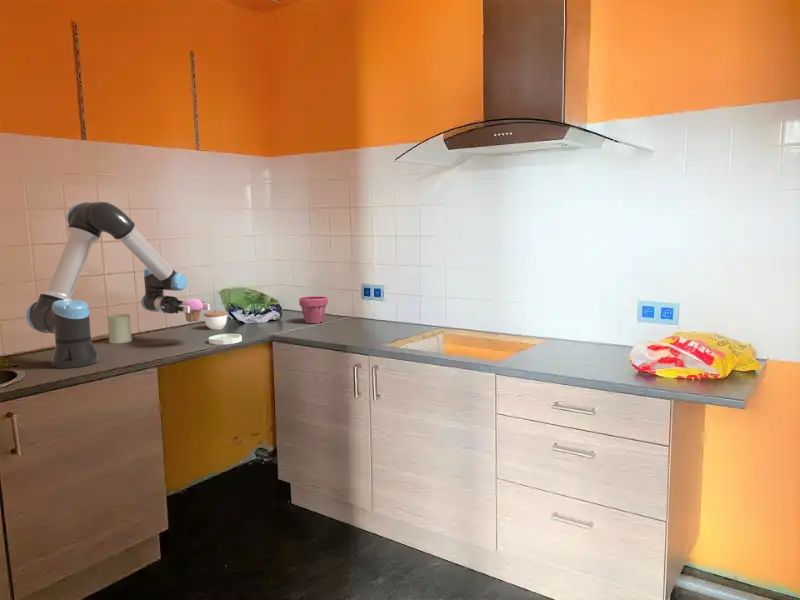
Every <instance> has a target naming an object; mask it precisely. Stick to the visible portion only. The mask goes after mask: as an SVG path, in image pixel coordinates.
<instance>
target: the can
mask: <svg viewBox="0 0 800 600" xmlns="http://www.w3.org/2000/svg"><path fill="white" fill-rule="evenodd" d="M106 318H107V326H108V327H107V328H108V343H109V344H113V345H114V344H126V343H129V342H133V338H132V327H131V326H132V325H131V315H130V313H120V314H119V313H118V314H117V313H116V314H110V315H107V317H106Z"/></svg>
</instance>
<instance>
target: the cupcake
mask: <svg viewBox="0 0 800 600" xmlns="http://www.w3.org/2000/svg"><path fill="white" fill-rule="evenodd" d="M183 301H184V302H182V304H181V305H184V306H190V313H185V312H184V315H185V319H186V321H187V322H188V323H192V322H199V321H200V316H201V312H202V309H203V303H202V302H203V301H202V300H200V299H199V298H195V297H194V298H193V297H190V298H187V299H185V300H183ZM201 301H202V302H201Z"/></svg>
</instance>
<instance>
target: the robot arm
mask: <svg viewBox="0 0 800 600" xmlns="http://www.w3.org/2000/svg"><path fill="white" fill-rule="evenodd" d="M66 222H67V224H68V226H67V232H68V233H69V235H68V238H67V240H66V243H65V246H64V248H63V250H62V253H61V256H60V257H59V260H58V263H57V265H56V267H55V269H54V272H53V275H52V277H51V279H50V282H49V285H48V287H47V289H46V291H43V292H41V293H40V294H39V296H38V299H37V301H35V302H33V303H32V304H31V305H29V307H28V308H27V310H26V315H25V316H26V317H25V318H26V321H27V323H28V326H30V328H32V329H33V330H35V331H37V332H40V333H44V334H52V335H53V334H54V341H55V346H54V349H53V353H52V357H51V366H52V367H53V368H54V369H55V368H56V369H69V368H81V367H86V366H90V365H94V364H97V363H98V361H99V356H98V353H97V351H96V348H95V347H94V344H93V341H92V337H91V336H92V335H91V322H90V309H89V305H88V303H87V302H86V301H83V300H80V299H72V296H73V295H74V291H75V288H76V287H77V284H78V281H79V279H80V276H81V274H82V271H83V269H84V266H85V263H86V261H87V258H88V256H89V253H90V251H91V249H92V246H93V244H94V243H95V242H98V241H99V240H100V237H101V235H102V234H103V233H106V234H109V236H111V237H112V238H113V239H115V240H116V241H120V242H121V243H122V244H123V245H124V246H125V247H126V248H127V249H128V250H129V251H130V253H132V254H133V255H134V256H135V257H136V258H137V259H138V260H139V261H140V262H141V263H142V264H143V265H144V267H146V268H145V269H144V271H143V275H144V276H143V281H144V290H145V291H144V295H143V296H142V298H141V300H140V304H141V306H142V308H143V309H144V310H146V311H150V312H155V313H157V312H158V313H162V314H164V315H165V314H173V315H174V314H179V313H184V314H185V313H190V306H184V305H181V304H182V302H184V301H185V300H183V301H182V300H179V299H178V298H177V296H171V295H164V290H165V291H174V292H175V291H176V292H177V291H179V292H180V291H183V290H185V289H186V287H187V286H188V278H187V276H186V275H185V274H183V273H181V272H177V271H176V270H175V269H174V268H173V267H172V266H171V265H170V264H169V263H168V262H167V261H166V260H165V259H164V257H163V256H162V255H161V254H160V253H159V252H158V251H157V250H156V249H155V248H154V246H153V245H151V243H149V241H148V240H147V239H146V238H145V237H144V236H143V235H142V234H141V232H139V230H137V228H136V223H135V222H134V221H133V220H132V219H131V218H130V217H129V215H127V214H126V213H125V212H124V211H122V210H121V209H120V208H119V207H117V206H116V205H114V204H112V203H110V202H107V201H95V202H92V201H91V202H89V201H83V202H80V203H77V204H74V205H73V206H72V207H70V208H69V210H68V212H67V215H66ZM200 301H201V302H202V303H203V309H202V310H204V311H210V310H211V307H210V303H205V301H202V300H200ZM202 310H201V311H202Z"/></svg>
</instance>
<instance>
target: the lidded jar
mask: <svg viewBox="0 0 800 600" xmlns="http://www.w3.org/2000/svg"><path fill="white" fill-rule="evenodd" d="M203 316H204V322H205V325H206V326H207V328H209V330H213V331H215V330H217V331H218V330H222V329H224V327H225V326H226V324H227V322H228V321H227V320H228V312H227V311H223V310H217V309H214V310H213V311H207V312H204V313H203Z"/></svg>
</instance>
